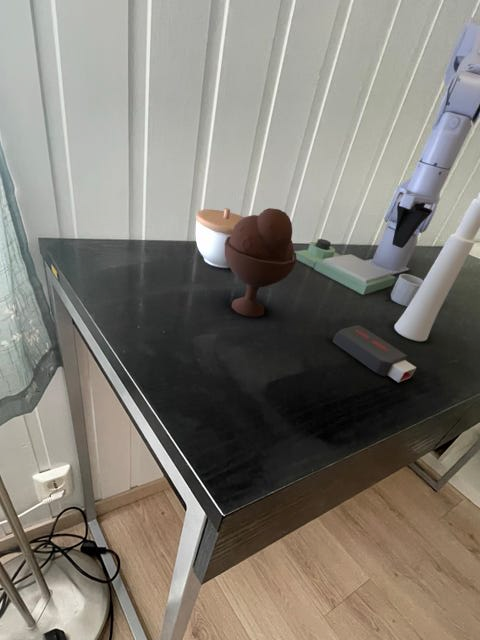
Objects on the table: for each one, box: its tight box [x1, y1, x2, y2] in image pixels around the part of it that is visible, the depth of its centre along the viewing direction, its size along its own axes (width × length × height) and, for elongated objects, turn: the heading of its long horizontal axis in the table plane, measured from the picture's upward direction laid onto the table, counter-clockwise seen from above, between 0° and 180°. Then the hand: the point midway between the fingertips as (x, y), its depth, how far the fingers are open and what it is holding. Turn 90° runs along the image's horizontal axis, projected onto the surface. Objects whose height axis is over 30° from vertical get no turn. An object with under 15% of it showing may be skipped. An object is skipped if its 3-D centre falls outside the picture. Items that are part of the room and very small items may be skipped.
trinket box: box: [195, 207, 245, 269], centre depth 71 cm, size 11×11×9 cm
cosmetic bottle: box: [393, 191, 480, 342], centre depth 60 cm, size 6×6×22 cm
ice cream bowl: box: [225, 207, 298, 318], centre depth 57 cm, size 11×11×15 cm
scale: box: [313, 253, 396, 296], centre depth 83 cm, size 13×13×3 cm
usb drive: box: [332, 324, 417, 384], centre depth 56 cm, size 5×12×3 cm, turn 36°
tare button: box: [316, 238, 331, 250], centre depth 85 cm, size 3×3×2 cm
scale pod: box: [294, 241, 343, 269], centre depth 87 cm, size 12×6×3 cm, turn 134°
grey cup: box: [390, 273, 424, 308], centre depth 77 cm, size 6×6×4 cm
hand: (397, 245), depth 75 cm, fingers closed
